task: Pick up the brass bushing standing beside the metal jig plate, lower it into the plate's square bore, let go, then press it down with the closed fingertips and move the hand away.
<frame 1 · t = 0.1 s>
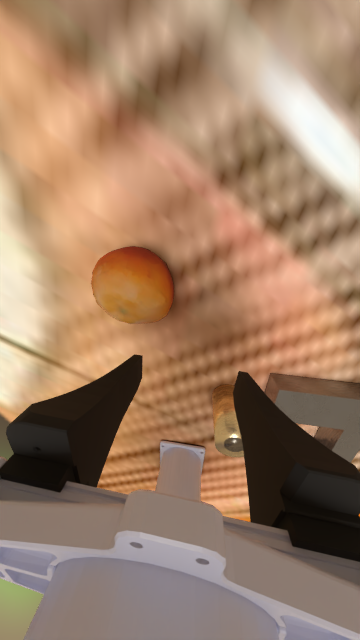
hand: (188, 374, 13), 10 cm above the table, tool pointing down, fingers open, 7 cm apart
bushing: (227, 396, 26), on the table
jig: (299, 421, 26), on the table
fruit: (146, 282, 21), on the table
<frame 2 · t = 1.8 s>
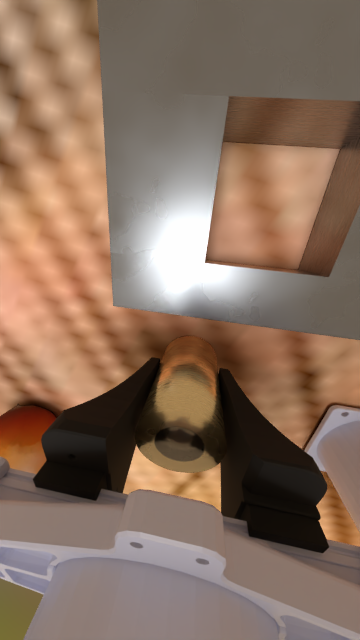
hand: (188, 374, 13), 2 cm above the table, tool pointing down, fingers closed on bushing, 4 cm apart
bushing: (189, 359, 15), on the table, touching gripper
jig: (263, 211, 10), on the table
fruit: (45, 420, 21), on the table
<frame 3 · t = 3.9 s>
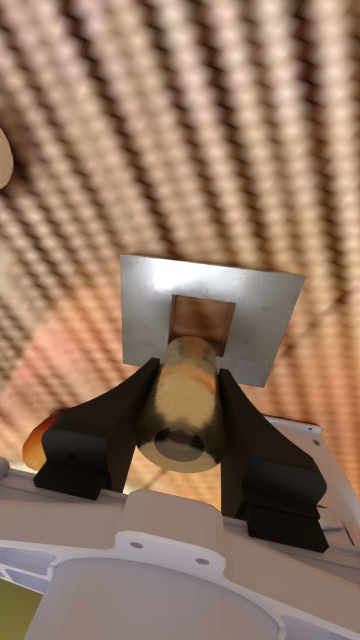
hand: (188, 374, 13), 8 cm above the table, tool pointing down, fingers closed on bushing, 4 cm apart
bushing: (189, 359, 15), point 7 cm above the table, touching gripper
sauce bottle: (4, 160, 17), on the table
jig: (199, 316, 20), on the table
fruit: (72, 421, 31), on the table
when the fingers open (4 cm above the table, at t = 6.0 s): bushing drops 2 cm, resting in jig.
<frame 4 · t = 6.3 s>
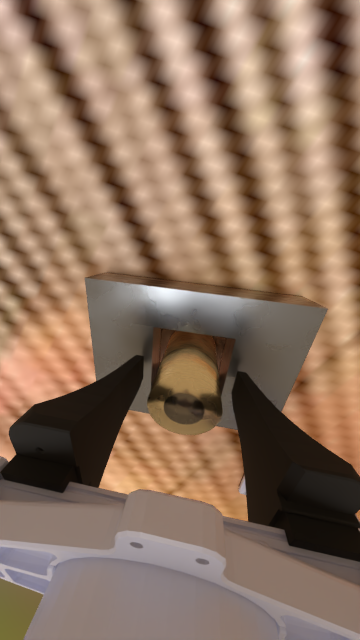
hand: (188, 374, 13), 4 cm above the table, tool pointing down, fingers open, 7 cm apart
bushing: (191, 346, 17), resting in jig
jig: (191, 347, 17), on the table
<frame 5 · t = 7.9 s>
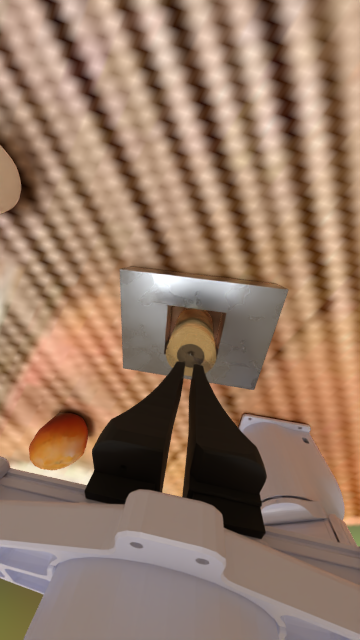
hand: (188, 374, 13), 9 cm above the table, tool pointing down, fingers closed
bushing: (194, 324, 22), resting in jig
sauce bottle: (12, 183, 18), on the table
jig: (194, 324, 22), on the table
fruit: (75, 422, 32), on the table
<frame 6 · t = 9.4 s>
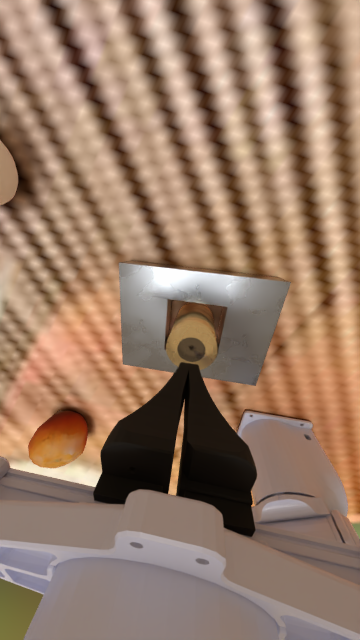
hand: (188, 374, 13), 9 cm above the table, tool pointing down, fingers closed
bushing: (194, 319, 21), resting in jig
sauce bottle: (9, 175, 18), on the table
jig: (194, 319, 21), on the table
fruit: (75, 419, 32), on the table
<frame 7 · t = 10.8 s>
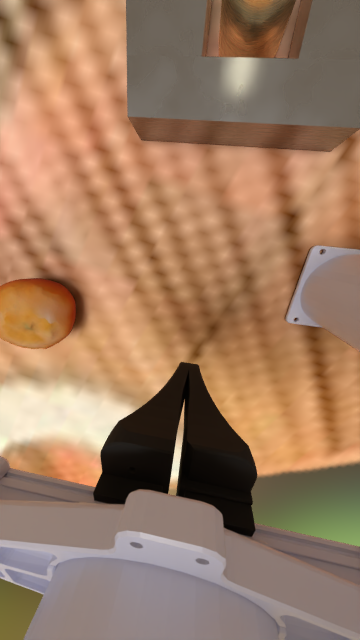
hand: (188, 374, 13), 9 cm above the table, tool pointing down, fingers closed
bushing: (249, 37, 13), resting in jig
jig: (249, 37, 13), on the table
fruit: (60, 304, 23), on the table
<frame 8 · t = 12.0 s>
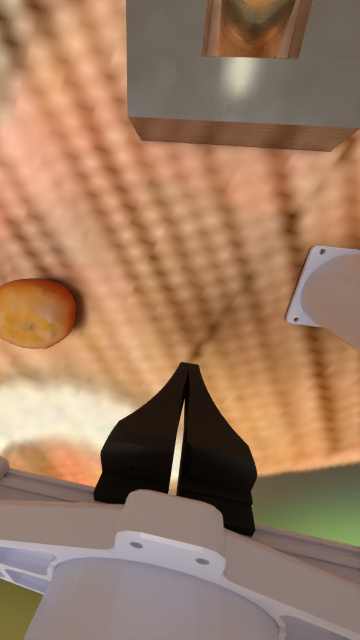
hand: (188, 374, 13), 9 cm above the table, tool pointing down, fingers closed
bushing: (249, 37, 13), resting in jig
jig: (249, 37, 13), on the table
fruit: (60, 304, 23), on the table
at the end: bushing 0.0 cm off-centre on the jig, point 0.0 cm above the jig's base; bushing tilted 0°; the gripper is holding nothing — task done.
